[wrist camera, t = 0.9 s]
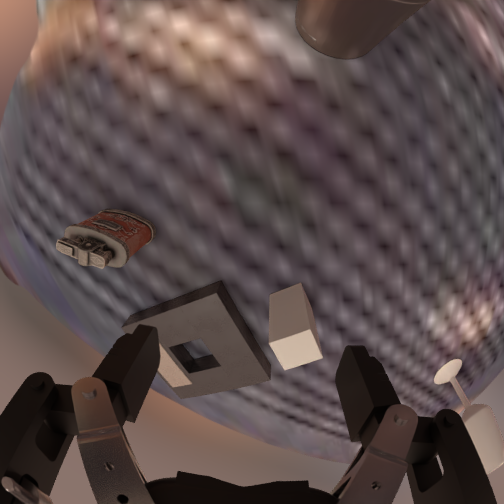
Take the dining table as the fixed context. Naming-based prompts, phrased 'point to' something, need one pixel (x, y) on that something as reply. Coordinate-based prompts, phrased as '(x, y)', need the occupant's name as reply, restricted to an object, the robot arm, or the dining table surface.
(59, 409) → the robot arm
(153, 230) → the lighter
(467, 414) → the champagne flute
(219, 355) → the slot holder
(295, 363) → the peg
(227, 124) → the dining table surface
